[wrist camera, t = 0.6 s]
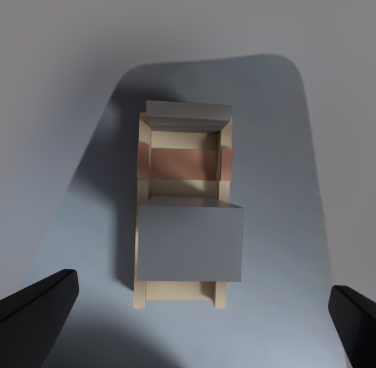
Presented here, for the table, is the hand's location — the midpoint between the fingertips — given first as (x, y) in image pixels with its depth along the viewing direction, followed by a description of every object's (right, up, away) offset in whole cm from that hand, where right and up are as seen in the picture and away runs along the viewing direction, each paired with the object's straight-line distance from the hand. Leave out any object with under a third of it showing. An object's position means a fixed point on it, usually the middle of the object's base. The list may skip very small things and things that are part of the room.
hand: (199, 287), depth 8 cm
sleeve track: (-1, +1, +16) cm, 16 cm away
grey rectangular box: (-1, 0, +14) cm, 14 cm away
